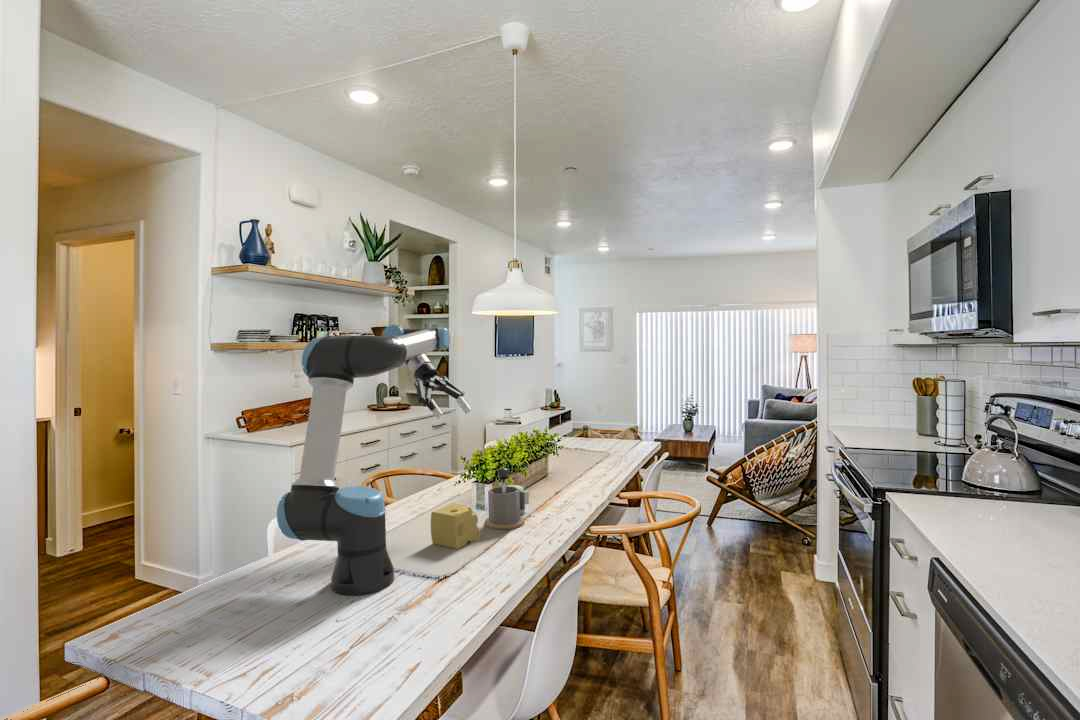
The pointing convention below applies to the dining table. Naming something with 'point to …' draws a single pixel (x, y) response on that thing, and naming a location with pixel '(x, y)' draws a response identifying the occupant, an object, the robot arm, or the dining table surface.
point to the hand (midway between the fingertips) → (454, 414)
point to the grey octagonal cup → (505, 508)
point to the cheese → (454, 526)
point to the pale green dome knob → (526, 495)
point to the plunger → (503, 477)
